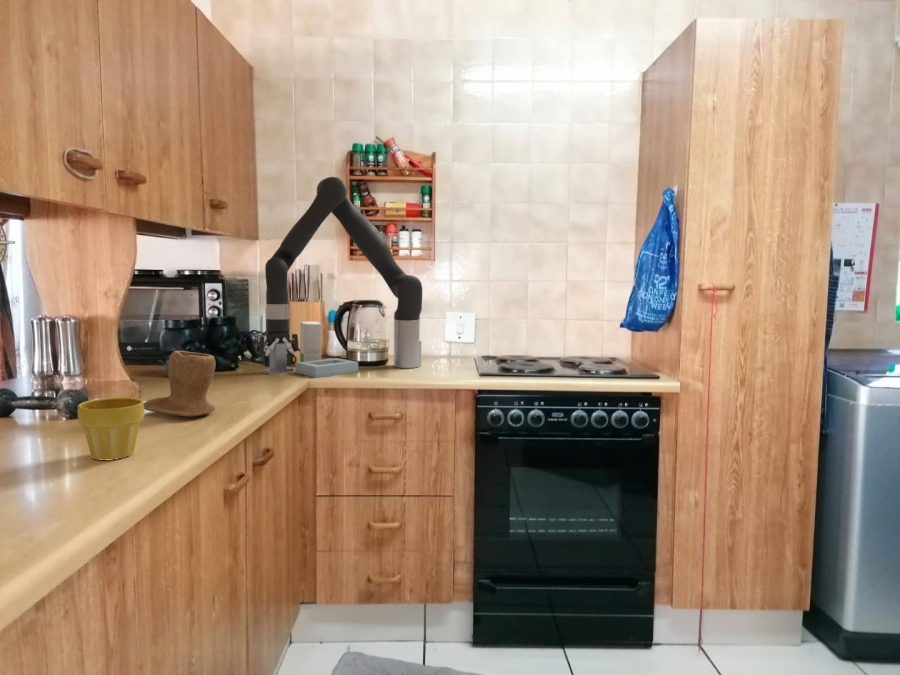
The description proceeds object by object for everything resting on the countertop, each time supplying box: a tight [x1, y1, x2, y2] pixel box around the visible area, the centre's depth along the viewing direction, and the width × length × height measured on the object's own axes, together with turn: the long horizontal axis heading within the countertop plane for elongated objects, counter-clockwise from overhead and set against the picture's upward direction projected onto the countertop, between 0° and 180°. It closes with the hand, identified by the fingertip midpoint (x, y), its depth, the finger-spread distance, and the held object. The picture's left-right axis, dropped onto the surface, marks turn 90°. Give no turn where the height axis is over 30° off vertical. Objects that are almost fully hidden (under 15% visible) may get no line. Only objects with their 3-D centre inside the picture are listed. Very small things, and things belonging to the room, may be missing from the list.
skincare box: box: [299, 320, 322, 362], centre depth 213 cm, size 8×7×16 cm
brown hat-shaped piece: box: [144, 350, 217, 417], centre depth 136 cm, size 15×12×15 cm
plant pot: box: [77, 396, 145, 460], centre depth 105 cm, size 10×10×10 cm
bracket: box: [262, 343, 294, 376], centre depth 195 cm, size 9×4×10 cm, turn 137°
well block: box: [294, 357, 359, 379], centre depth 196 cm, size 17×12×4 cm
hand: (278, 365), depth 195 cm, fingers open, 8 cm apart
